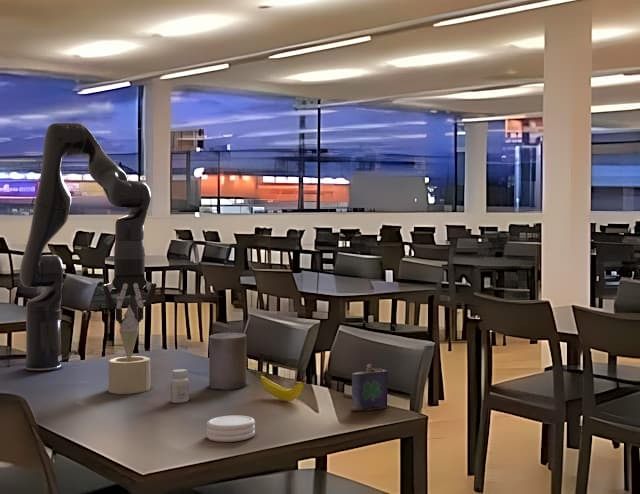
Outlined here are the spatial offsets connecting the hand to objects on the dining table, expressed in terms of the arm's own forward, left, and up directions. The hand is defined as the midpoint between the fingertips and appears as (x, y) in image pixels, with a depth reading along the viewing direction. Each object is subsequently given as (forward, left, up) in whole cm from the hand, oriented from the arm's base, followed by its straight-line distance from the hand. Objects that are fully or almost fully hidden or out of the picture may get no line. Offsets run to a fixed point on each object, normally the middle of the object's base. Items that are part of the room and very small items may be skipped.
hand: (129, 322), depth 251 cm
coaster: (+60, +12, -18) cm, 64 cm away
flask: (+49, +48, -18) cm, 71 cm away
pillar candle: (+7, +24, -18) cm, 31 cm away
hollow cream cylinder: (0, 0, -18) cm, 18 cm away
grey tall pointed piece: (0, 0, -10) cm, 10 cm away
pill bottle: (+20, +9, -18) cm, 28 cm away
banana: (+30, +32, -18) cm, 48 cm away
